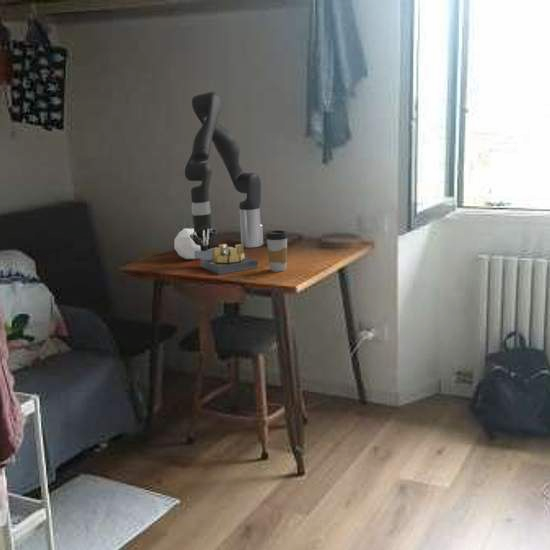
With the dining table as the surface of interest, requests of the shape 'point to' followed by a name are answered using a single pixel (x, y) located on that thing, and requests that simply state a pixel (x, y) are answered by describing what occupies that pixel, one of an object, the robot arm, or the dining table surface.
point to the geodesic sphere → (185, 244)
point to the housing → (228, 264)
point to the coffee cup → (277, 250)
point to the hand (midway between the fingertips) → (204, 254)
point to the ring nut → (217, 254)
